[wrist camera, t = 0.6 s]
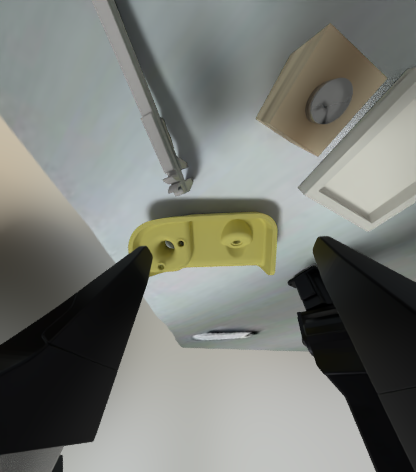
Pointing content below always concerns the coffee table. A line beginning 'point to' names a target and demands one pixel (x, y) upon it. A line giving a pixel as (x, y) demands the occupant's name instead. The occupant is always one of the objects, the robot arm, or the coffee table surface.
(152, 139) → the caliper
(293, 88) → the block
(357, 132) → the housing tray
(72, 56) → the coffee table surface
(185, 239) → the plastic component
